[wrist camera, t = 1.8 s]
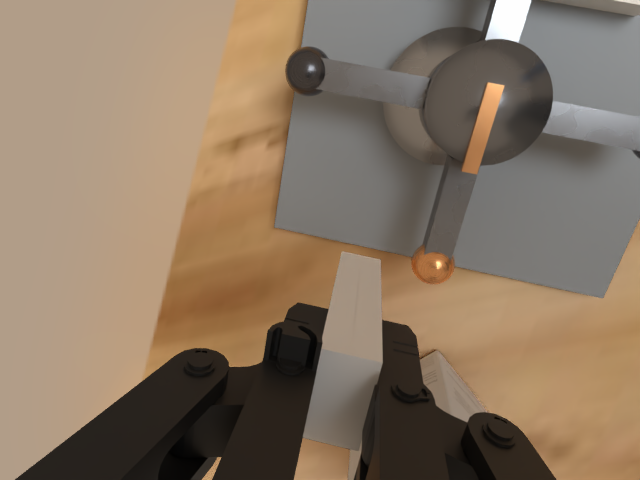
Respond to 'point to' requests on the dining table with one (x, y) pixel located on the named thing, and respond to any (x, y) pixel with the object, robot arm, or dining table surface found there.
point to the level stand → (492, 180)
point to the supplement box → (438, 396)
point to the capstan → (463, 111)
